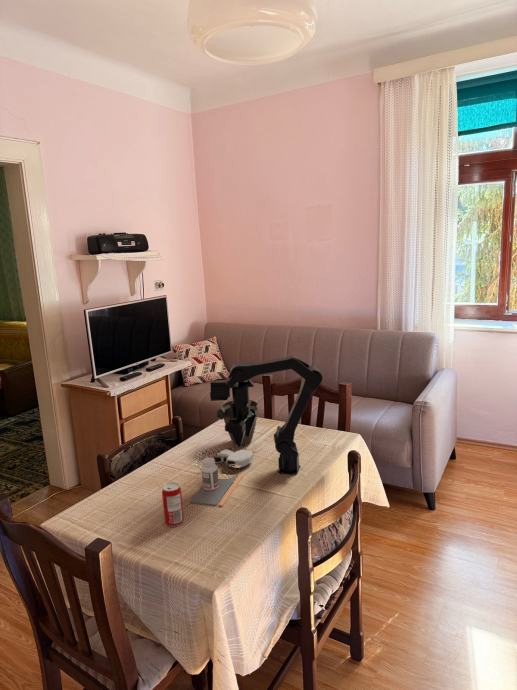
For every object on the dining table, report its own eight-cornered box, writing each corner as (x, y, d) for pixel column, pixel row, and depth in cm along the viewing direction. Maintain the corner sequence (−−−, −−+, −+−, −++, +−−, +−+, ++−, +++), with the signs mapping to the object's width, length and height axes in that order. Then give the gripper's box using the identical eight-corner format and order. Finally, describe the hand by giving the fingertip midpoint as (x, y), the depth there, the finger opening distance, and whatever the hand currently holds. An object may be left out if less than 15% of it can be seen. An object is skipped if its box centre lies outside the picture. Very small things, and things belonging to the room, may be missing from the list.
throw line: (243, 476, 172) (243, 475, 172) (222, 506, 153) (222, 505, 153) (239, 476, 172) (239, 474, 172) (219, 506, 154) (218, 504, 154)
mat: (237, 476, 173) (237, 474, 173) (216, 506, 154) (216, 504, 154) (213, 473, 175) (213, 472, 175) (190, 502, 157) (190, 501, 157)
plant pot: (216, 445, 199) (213, 408, 195) (237, 432, 211) (234, 397, 208) (247, 452, 191) (244, 413, 188) (266, 438, 203) (264, 402, 200)
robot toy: (208, 467, 182) (239, 474, 173) (206, 456, 182) (238, 462, 173) (228, 455, 192) (259, 461, 183) (227, 444, 191) (258, 449, 182)
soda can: (173, 515, 150) (170, 479, 148) (187, 519, 147) (184, 483, 145) (161, 524, 146) (157, 487, 143) (175, 529, 143) (172, 491, 140)
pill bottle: (215, 481, 168) (213, 455, 166) (221, 488, 164) (219, 461, 162) (200, 485, 166) (198, 459, 164) (206, 492, 162) (203, 465, 159)
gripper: (228, 389, 180) (231, 429, 183) (208, 407, 163) (212, 450, 166) (257, 391, 177) (259, 431, 180) (240, 408, 159) (243, 453, 163)
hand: (243, 441), depth 172 cm, fingers open, 9 cm apart
